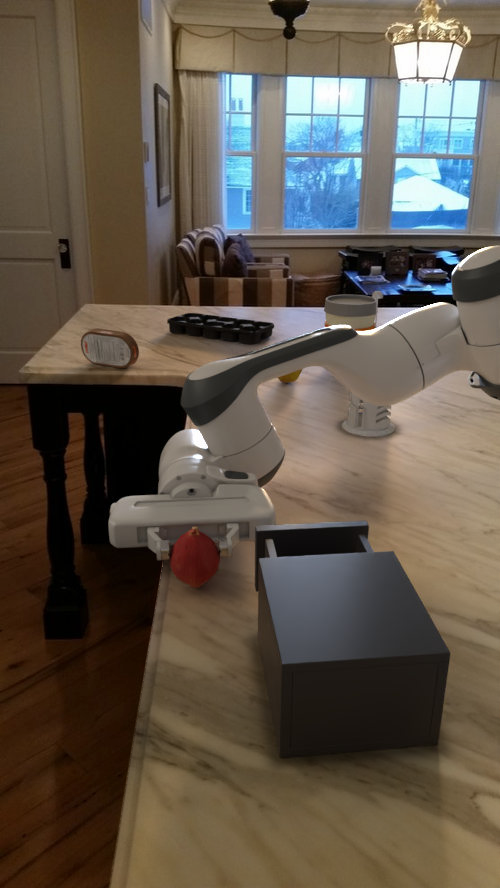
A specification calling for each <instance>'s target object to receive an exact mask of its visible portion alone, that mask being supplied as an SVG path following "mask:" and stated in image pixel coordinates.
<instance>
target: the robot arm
mask: <svg viewBox="0 0 500 888" xmlns="http://www.w3.org/2000/svg"><path fill="white" fill-rule="evenodd" d="M450 277H451V280H450V281H451V282H450V283H451V284H450V285H451V294H452V298H453V301H456V305H454V304H451V303H449V302H436V303H433V304H430V305H426V306H423V307H421V308H418V309H415V310H412V311H410V312H408V313H406V314H403V315H401V316H398V317H397V318H395V319H392V320H390V321H389V322H386V323H385V324H383V325H381V326H379V327H376V329H374V330H370V331H361V332H360V331H356V330H354V329H353V328H352V327H350V326H348V325H337V326H330V327H326V328H325V327H322V328H319V329H316V330H313V331H309V332H305V333H303V334H300V335H296V336H293V337H289V338H287V339H285V340H281V341H279V342H276V343H273V344H270V345H267V346H264V347H261V348H257V349H255V350H252V351H249V352H245V353H243V354H238V355H235V356H231V357H227V358H223V359H220V360H215V361H212V362H208V363H205V364H203V365H200V366H199V367H197V368H196V369H194V370H192V371H191V372H190V373H189V374H188V375H187V376H186V378H185V381H184V383H183V387H182V390H181V397H180V406H181V407H182V410H184V413H186V415H187V416H188V418H189V419H190V421H191V422H192V424H193V426H195V427H196V429H195V428H186V429H183V430H180V431H178V432H176V433H175V434H173V435H172V436H171V437H170V438H169V439H168V441H167V442H166V444H165V445H164V447H163V449H162V451H161V453H160V459H159V464H158V480H159V481H158V485H157V486H158V487H157V494H145V495H129V496H128V495H127V496H124V497H121V498H119V500H118V501H116V502H113V503H112V504H111V505H110V508H109V518H108V525H107V526H108V537H109V538H108V539H109V543H110V545H112V546H113V547H115V548H116V549H126V548H127V549H129V548H131V549H132V548H147V549H149V550H151V551H152V552H153V553H155V554H156V561H169V560H170V552H171V549H170V546H173V545H174V544H175V542H176V541H177V540H178V539H179V537H180V536H181V535H182V534H184V533H186V532H188V531H189V530H191V528H192V527H198V530H199V531H200V532H203V533H205V534H206V535H207V536H209V537H210V538H211V539H212V540H213V541H214V542H215V544H218V551H219V556H220V558H232V557H233V549H234V548H236V547H237V546H238V545H239V544H240V543H246V542H248V543H249V542H255V526H267V525H277V514H276V513H277V512H276V509H275V505H274V503H273V502H272V500H271V498H270V496H269V494H268V492H267V491H266V490H265V489H264V488H262V487H264V486H266V485H267V484H269V483H270V482H271V481H272V480H273V479H274V477H275V476H276V474H277V473H278V472H279V470H280V468H281V467H282V465H283V462H284V459H285V456H286V448H285V447H284V444H283V442H282V440H281V438H280V435H279V433H278V431H277V429H276V427H275V425H274V423H273V421H272V420H271V419H270V418H271V417H270V416H269V414H268V413H267V410H266V408H265V406H264V404H263V402H262V400H261V397H260V396H259V393H258V389H259V386H260V385H261V384H264V383H266V382H270V381H272V380H275V379H278V377H281V376H283V375H286V374H289V373H292V372H295V371H298V370H301V369H302V370H303V369H306V368H310V367H320V368H323V369H324V370H326V371H327V372H328V373H330V375H332V377H334V378H335V379H336V380H337V381H338V382H339V383H340V384H341V385H342V386H343V387H344V388H345V389H346V390H347V391H348V392H349V391H350V392H351V393H352V394H354V395H355V396H356V397H358V398H359V399H361V400H363V401H365V402H367V403H369V404H372V405H377V406H391V407H392V406H394V405H397V404H400V403H402V402H404V401H406V400H408V399H410V398H412V397H414V396H416V395H417V394H418V393H421V392H422V391H423V390H426V389H427V388H429V387H430V386H433V384H436V383H437V382H438V381H440V380H441V379H443V378H445V377H447V376H448V375H450V374H453V373H455V372H461V371H468V372H470V374H469V375H468V377H467V383H468V385H469V386H470V387H471V388H473V389H480V390H481V391H482V392H484V393H485V394H486V395H487V396H489V397H491V398H492V399H495V400H498V401H500V244H499V245H492V246H487V247H484V248H481V249H478V250H476V251H475V252H473V253H471V254H470V255H468V256H466V257H465V258H463V259H462V260H461V261H460V262H458V264H457V265H456V266H455V267H454V269H453V270H452V272H451V276H450Z"/></svg>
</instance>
